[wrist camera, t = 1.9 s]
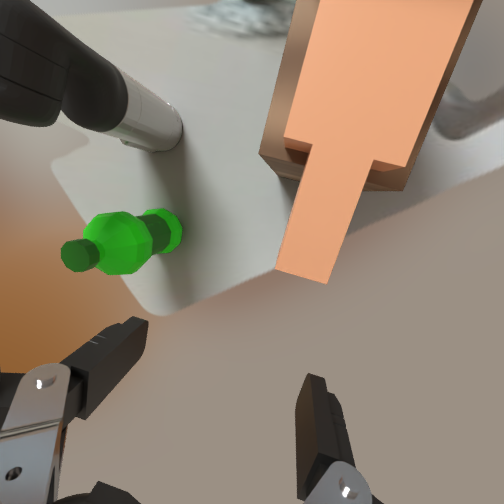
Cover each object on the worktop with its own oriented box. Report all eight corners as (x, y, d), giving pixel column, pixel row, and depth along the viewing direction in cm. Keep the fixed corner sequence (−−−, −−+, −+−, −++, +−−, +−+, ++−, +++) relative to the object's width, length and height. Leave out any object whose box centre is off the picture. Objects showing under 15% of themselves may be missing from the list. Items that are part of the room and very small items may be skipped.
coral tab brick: (342, 274, 22) (353, 292, 18) (256, 249, 22) (249, 261, 19) (440, 22, 17) (485, -28, 13) (325, -1, 17) (335, -55, 13)
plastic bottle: (161, 257, 58) (68, 304, 34) (139, 216, 56) (26, 234, 32) (197, 241, 55) (124, 279, 31) (175, 197, 54) (82, 203, 30)
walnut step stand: (336, 191, 48) (475, 191, 12) (277, 175, 49) (238, 131, 13) (387, 44, 41) (1082, -1023, 5) (317, 29, 42) (478, -949, 6)
